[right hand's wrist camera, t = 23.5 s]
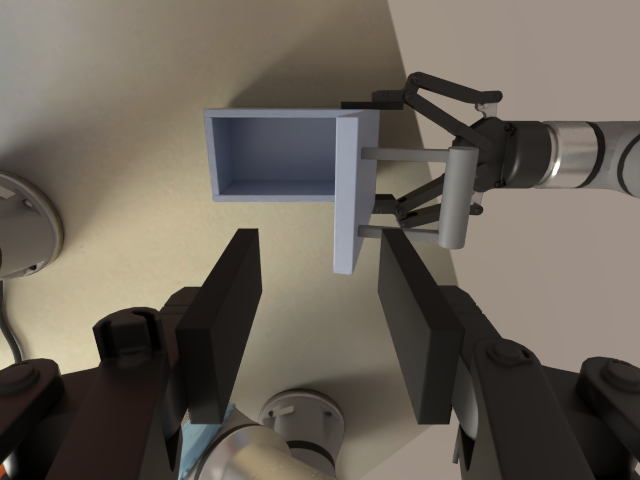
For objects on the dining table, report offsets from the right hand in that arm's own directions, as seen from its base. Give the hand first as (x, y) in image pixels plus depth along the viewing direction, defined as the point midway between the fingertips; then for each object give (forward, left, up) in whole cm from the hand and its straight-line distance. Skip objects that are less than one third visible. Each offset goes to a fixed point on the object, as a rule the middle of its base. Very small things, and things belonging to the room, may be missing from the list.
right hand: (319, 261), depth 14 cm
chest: (-1, +4, -36) cm, 36 cm away
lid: (+1, -3, -18) cm, 18 cm away
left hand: (+1, -2, -30) cm, 30 cm away
